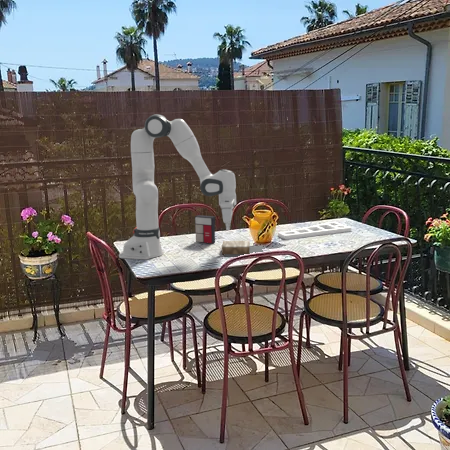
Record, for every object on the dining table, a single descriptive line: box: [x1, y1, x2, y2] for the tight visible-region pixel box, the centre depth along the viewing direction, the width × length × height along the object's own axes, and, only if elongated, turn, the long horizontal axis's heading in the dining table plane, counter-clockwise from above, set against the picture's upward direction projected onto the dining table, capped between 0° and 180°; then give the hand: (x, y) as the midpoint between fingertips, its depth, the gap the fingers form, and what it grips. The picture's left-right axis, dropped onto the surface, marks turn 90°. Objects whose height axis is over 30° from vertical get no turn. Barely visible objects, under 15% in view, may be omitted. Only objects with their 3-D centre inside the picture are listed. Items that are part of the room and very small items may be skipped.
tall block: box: [221, 240, 251, 255], centre depth 246 cm, size 4×11×14 cm
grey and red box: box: [194, 214, 216, 245], centre depth 264 cm, size 11×4×15 cm, turn 62°
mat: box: [224, 245, 266, 258], centre depth 246 cm, size 21×18×1 cm
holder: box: [277, 221, 352, 240], centre depth 283 cm, size 45×18×3 cm, turn 110°
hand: (228, 227), depth 244 cm, fingers open, 8 cm apart
